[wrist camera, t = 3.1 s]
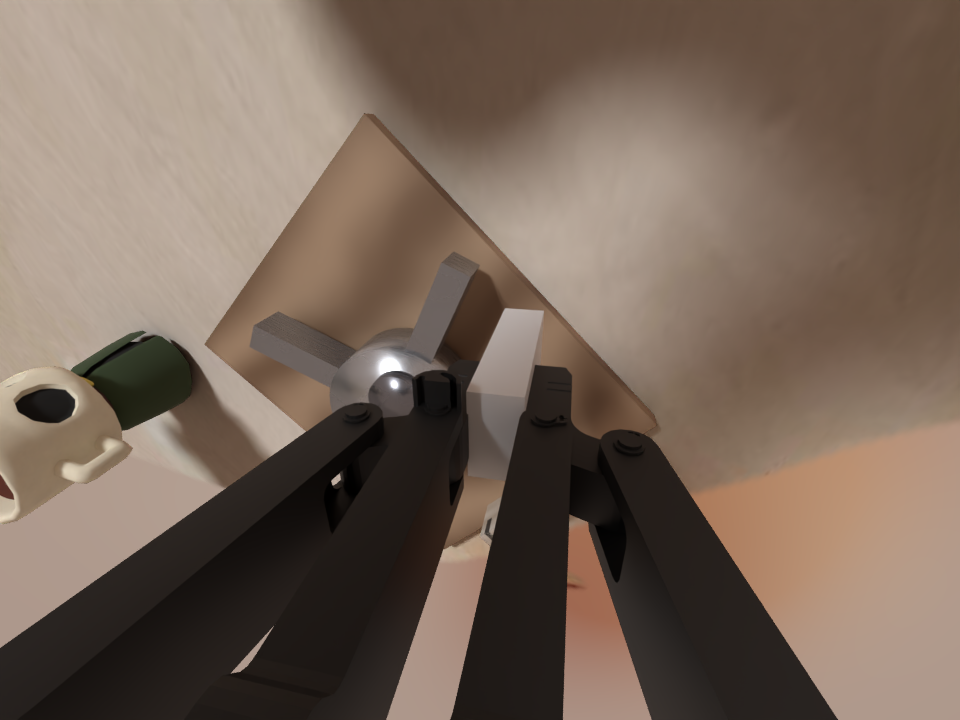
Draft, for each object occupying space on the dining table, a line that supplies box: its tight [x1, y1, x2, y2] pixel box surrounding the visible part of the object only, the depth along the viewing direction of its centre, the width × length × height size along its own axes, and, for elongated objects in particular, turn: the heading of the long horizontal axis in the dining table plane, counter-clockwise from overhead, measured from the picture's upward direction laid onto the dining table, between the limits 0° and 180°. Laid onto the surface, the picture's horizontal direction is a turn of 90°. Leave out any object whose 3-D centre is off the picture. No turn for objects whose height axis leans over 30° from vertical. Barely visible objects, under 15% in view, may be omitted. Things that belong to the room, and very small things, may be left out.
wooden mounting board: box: [205, 113, 657, 549], centre depth 28 cm, size 24×20×4 cm
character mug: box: [0, 331, 192, 524], centre depth 29 cm, size 11×7×13 cm, turn 78°
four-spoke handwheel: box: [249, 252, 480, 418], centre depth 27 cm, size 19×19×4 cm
